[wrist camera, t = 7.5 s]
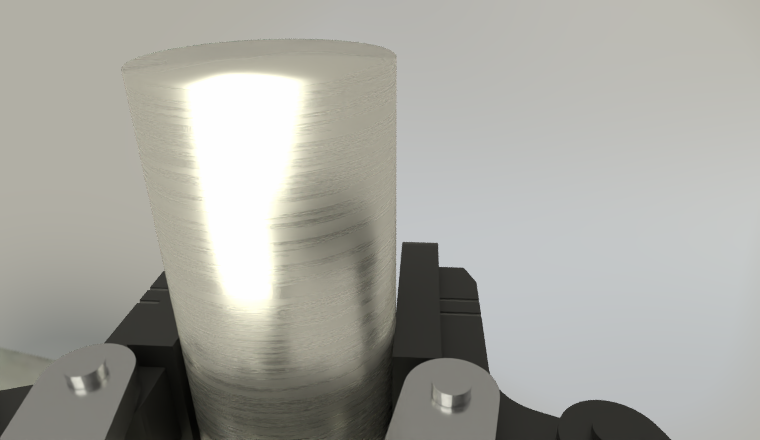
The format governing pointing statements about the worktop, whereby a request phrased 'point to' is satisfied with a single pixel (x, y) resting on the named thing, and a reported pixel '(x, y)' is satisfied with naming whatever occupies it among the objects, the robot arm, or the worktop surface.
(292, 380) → the crank handle
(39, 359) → the worktop surface
